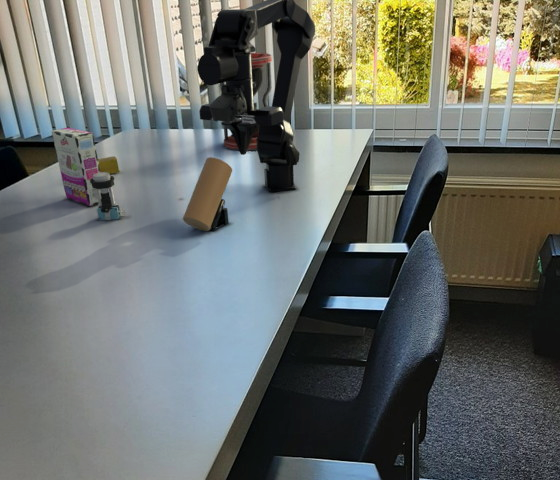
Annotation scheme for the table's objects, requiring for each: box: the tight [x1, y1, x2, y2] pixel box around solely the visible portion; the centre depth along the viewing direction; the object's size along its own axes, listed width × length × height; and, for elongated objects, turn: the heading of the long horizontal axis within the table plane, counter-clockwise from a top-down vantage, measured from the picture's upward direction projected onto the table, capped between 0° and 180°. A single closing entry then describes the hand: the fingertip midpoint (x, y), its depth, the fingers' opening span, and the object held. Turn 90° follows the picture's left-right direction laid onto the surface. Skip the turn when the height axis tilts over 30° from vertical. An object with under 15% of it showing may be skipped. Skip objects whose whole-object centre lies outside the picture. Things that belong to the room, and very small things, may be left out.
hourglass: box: [219, 52, 273, 151], centre depth 188 cm, size 16×16×25 cm
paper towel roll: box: [182, 156, 233, 232], centre depth 132 cm, size 14×6×14 cm, turn 149°
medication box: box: [98, 155, 121, 175], centre depth 171 cm, size 12×3×4 cm, turn 116°
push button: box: [90, 172, 128, 221], centre depth 140 cm, size 7×5×10 cm
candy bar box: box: [51, 127, 101, 207], centre depth 150 cm, size 11×5×16 cm, turn 47°
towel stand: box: [210, 198, 230, 232], centre depth 134 cm, size 5×6×6 cm
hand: (243, 154), depth 139 cm, fingers closed
